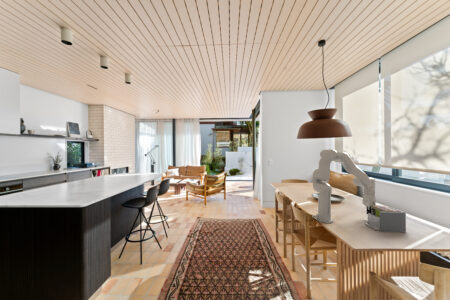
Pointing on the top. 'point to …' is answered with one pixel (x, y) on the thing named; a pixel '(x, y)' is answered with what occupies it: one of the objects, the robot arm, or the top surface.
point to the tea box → (381, 210)
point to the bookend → (373, 222)
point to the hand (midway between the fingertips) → (369, 214)
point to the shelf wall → (393, 221)
